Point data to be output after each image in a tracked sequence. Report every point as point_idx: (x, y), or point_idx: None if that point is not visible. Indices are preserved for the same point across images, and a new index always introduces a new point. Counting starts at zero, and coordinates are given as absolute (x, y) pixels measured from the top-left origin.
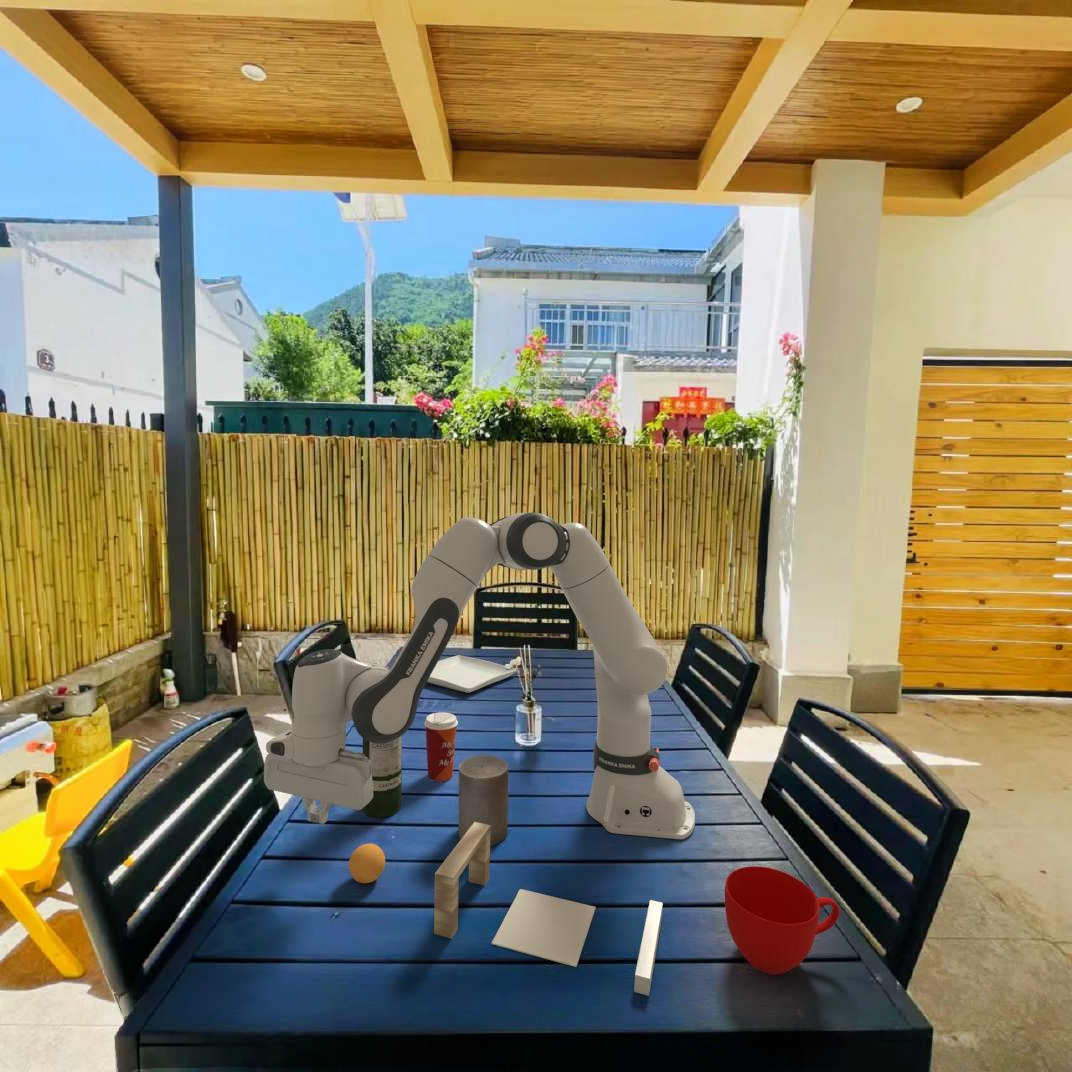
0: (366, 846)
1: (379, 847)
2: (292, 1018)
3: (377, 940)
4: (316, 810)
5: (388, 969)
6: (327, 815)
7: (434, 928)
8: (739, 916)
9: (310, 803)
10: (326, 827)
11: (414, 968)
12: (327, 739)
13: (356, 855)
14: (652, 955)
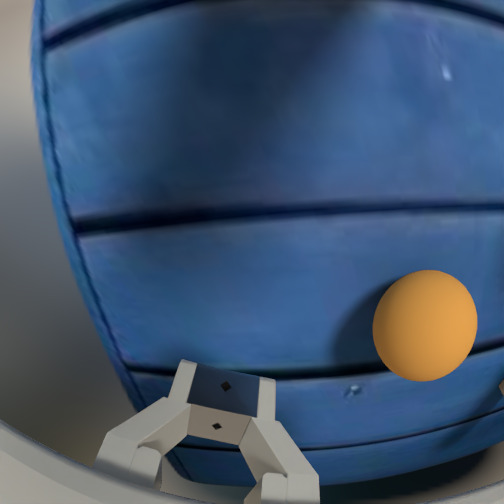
0: (442, 364)
1: (473, 324)
2: (333, 479)
3: (425, 413)
4: (203, 422)
5: (434, 436)
6: (274, 401)
7: (502, 392)
8: None
9: (156, 449)
10: (171, 30)
11: (462, 427)
12: None
13: (407, 376)
14: None
